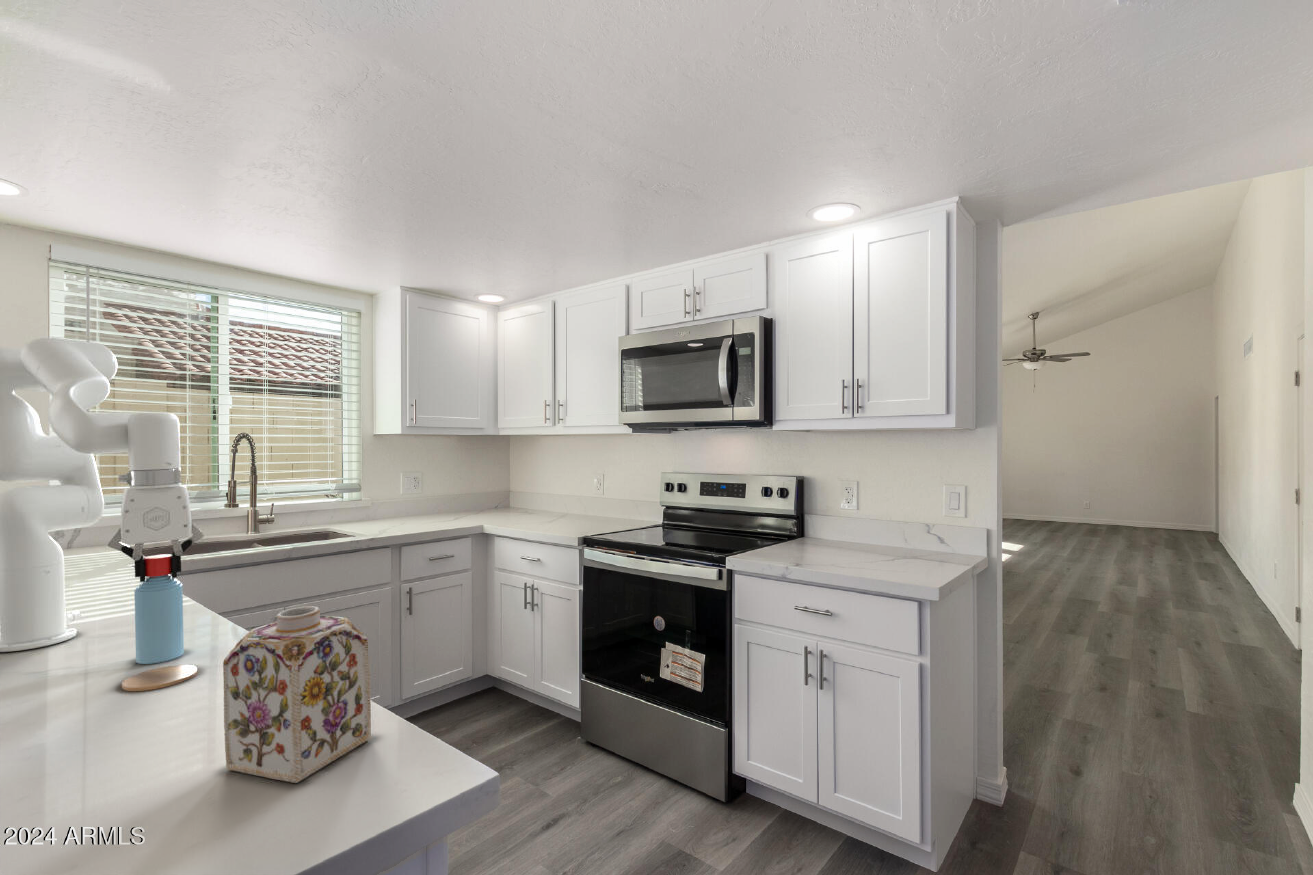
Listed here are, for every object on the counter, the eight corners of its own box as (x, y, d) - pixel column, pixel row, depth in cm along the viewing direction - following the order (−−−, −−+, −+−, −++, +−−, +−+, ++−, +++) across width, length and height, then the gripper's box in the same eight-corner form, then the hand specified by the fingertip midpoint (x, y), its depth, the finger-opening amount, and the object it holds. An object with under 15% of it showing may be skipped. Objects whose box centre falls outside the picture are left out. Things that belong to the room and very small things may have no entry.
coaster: (147, 670, 111) (147, 667, 111) (209, 666, 112) (209, 662, 112) (106, 693, 101) (105, 689, 101) (174, 688, 102) (174, 684, 102)
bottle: (152, 651, 121) (150, 557, 121) (192, 649, 122) (190, 555, 122) (126, 665, 114) (124, 564, 114) (169, 662, 115) (166, 563, 115)
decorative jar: (374, 739, 83) (370, 601, 83) (297, 786, 72) (293, 627, 72) (304, 727, 87) (300, 596, 87) (221, 770, 76) (217, 620, 76)
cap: (138, 577, 115) (138, 559, 115) (153, 572, 119) (153, 554, 119) (163, 576, 116) (163, 558, 116) (177, 571, 120) (177, 553, 120)
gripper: (93, 483, 110) (96, 589, 110) (211, 477, 120) (215, 574, 120) (97, 481, 115) (100, 582, 116) (209, 476, 126) (212, 568, 126)
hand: (158, 577), depth 118 cm, fingers closed on cap, 4 cm apart
